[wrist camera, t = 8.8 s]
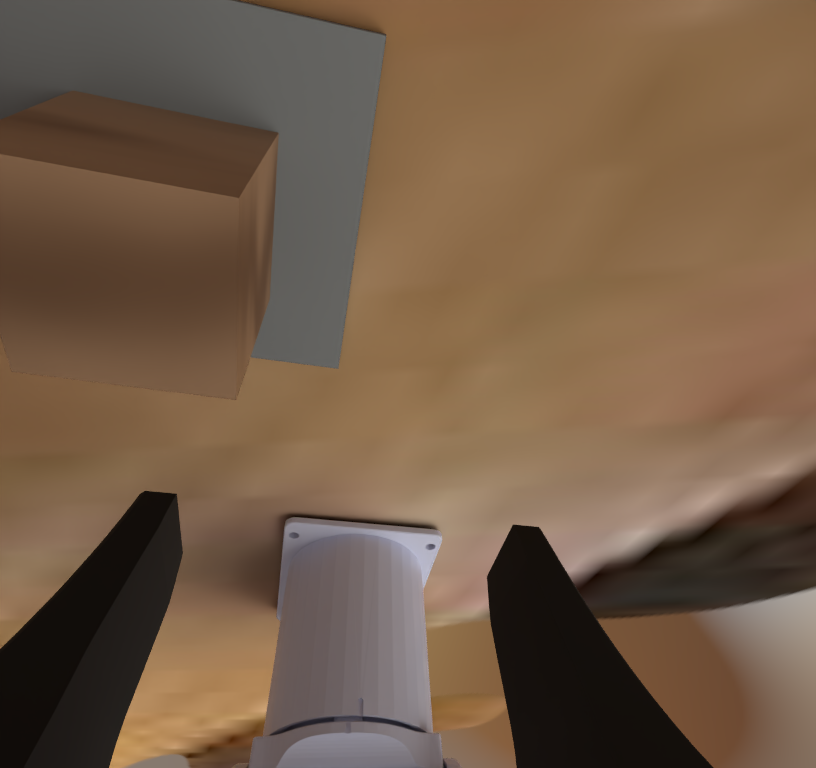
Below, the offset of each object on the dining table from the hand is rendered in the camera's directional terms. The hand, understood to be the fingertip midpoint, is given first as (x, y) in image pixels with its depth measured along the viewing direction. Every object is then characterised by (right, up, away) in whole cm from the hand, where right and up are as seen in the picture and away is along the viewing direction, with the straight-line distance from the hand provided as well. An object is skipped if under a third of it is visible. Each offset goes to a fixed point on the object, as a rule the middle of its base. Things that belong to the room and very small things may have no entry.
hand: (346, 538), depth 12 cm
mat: (-6, +9, +5) cm, 12 cm away
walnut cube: (-6, +9, +5) cm, 12 cm away
